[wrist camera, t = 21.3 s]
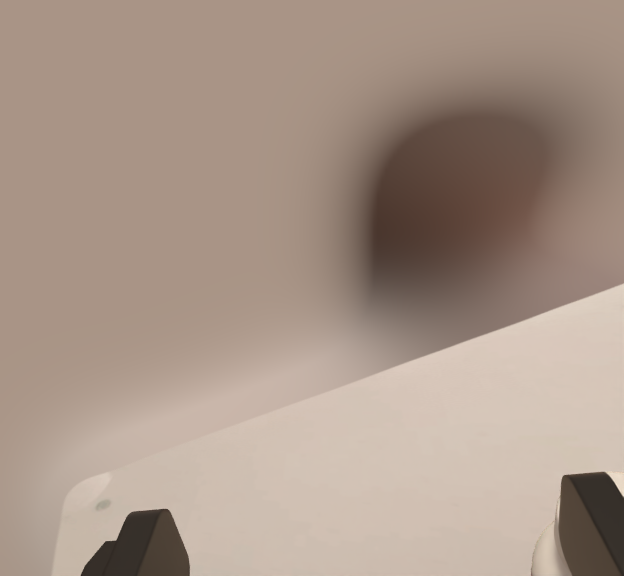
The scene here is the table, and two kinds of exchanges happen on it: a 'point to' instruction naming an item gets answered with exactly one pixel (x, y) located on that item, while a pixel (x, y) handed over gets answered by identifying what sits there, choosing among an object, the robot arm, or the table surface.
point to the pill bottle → (558, 543)
